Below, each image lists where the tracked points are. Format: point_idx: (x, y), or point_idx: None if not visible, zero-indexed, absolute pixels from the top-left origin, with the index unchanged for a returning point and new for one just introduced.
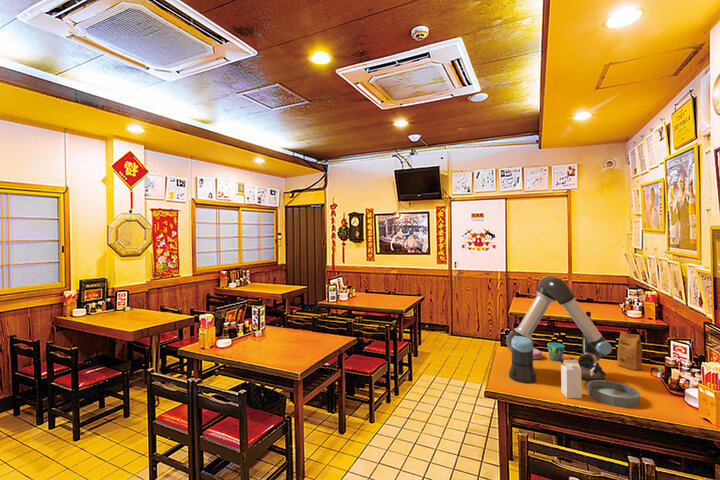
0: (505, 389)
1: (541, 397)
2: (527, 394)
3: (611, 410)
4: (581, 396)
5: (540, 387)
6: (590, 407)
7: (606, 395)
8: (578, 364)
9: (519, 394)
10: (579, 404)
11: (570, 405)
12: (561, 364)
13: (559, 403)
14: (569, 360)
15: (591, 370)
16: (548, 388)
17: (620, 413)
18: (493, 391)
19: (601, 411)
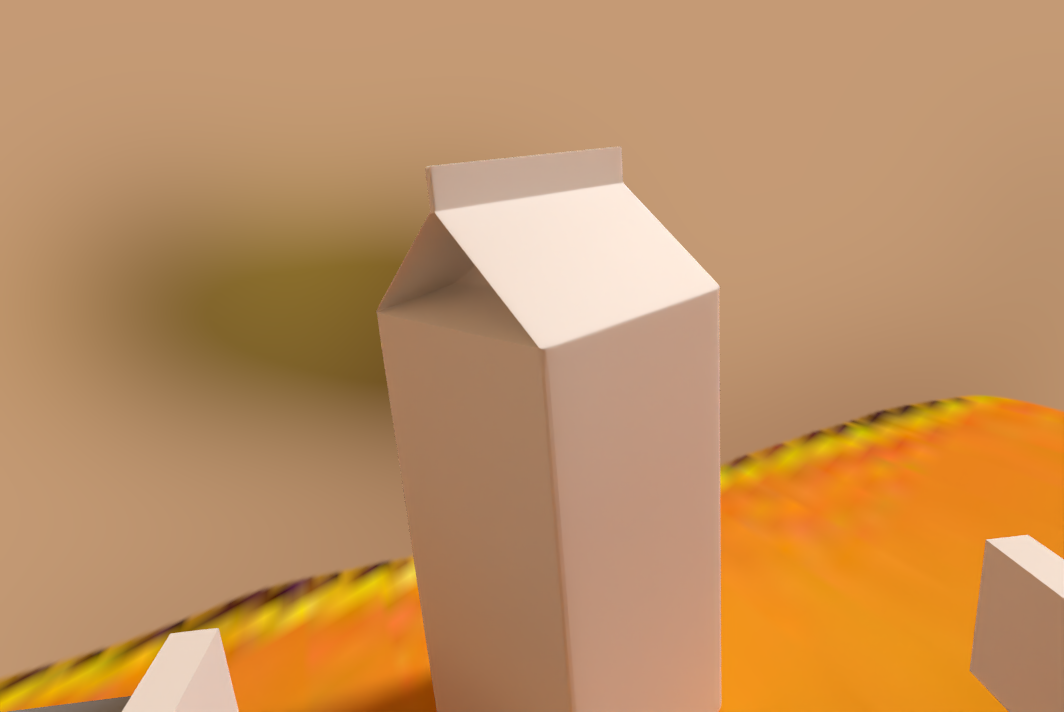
0: (1001, 441)
1: (732, 502)
2: (838, 477)
3: (97, 691)
4: (434, 693)
5: None
6: (318, 611)
7: (67, 708)
8: (420, 244)
9: (862, 449)
10: None
11: None
12: (705, 274)
13: None
14: (550, 165)
15: (176, 656)
16: (917, 699)
17: (10, 693)
18: (977, 395)
19: (217, 610)
